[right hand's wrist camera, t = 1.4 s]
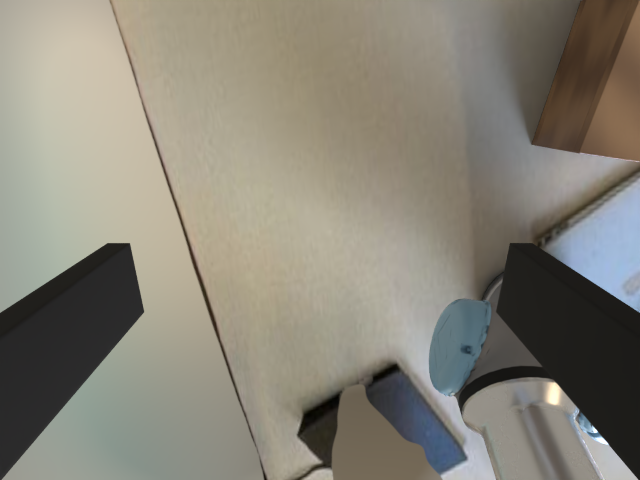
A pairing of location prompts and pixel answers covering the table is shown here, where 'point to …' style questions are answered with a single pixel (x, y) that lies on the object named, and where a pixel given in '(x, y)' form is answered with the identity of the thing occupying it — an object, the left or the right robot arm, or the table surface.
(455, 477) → the table surface
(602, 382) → the right robot arm
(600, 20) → the cabinet
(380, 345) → the table surface
